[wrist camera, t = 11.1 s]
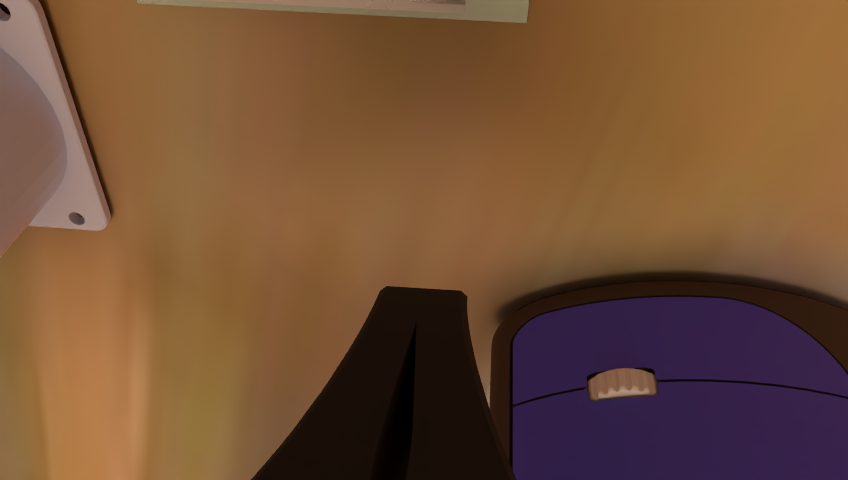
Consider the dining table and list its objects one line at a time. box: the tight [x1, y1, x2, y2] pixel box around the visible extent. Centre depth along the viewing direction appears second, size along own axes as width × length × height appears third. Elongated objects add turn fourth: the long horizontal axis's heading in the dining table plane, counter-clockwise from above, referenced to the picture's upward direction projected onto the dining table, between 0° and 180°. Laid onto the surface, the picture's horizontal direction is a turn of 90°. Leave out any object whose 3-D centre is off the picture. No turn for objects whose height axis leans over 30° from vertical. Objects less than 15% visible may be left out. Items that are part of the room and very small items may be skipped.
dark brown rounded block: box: [490, 281, 848, 480], centre depth 21 cm, size 16×5×9 cm, turn 82°
